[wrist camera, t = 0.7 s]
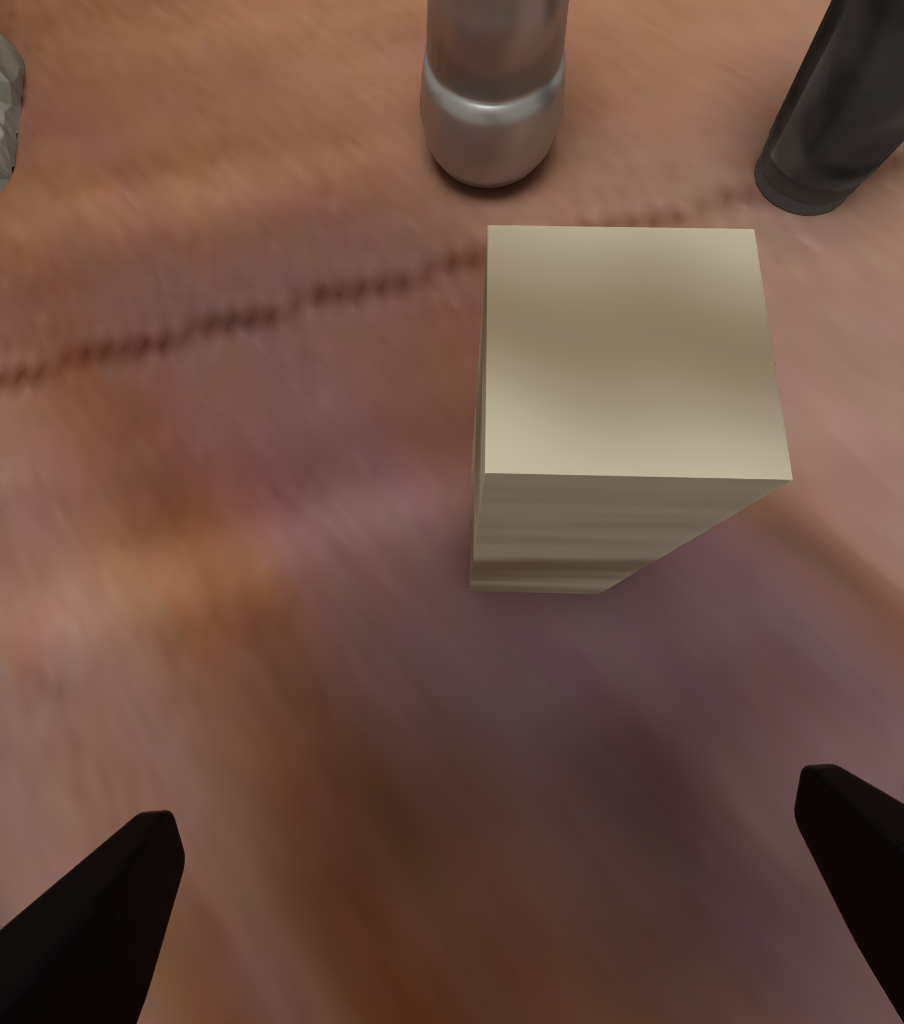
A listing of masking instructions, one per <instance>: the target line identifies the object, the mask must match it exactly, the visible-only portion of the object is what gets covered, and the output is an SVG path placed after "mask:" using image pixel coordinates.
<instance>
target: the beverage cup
mask: <svg viewBox="0 0 904 1024" xmlns="http://www.w3.org/2000/svg"><path fill="white" fill-rule="evenodd" d="M903 141H904V0H832V1H831V3H830V5H829V7H828V9H827V11H826V13H825V15H824V18H823V20H822V22H821V24H820V26H819V28H818V30H817V32H816V35H815V37H814V39H813V41H812V43H811V45H810V47H809V49H808V51H807V54H806V56H805V58H804V60H803V62H802V64H801V66H800V68H799V70H798V73H797V75H796V77H795V79H794V81H793V83H792V85H791V87H790V90H789V92H788V94H787V96H786V98H785V100H784V102H783V104H782V106H781V109H780V111H779V113H778V115H777V117H776V119H775V121H774V123H773V126H772V128H771V130H770V133H769V137H768V139H767V142H766V144H765V146H764V149H763V152H762V154H761V156H760V158H759V159H758V161H757V164H756V168H755V178H756V183H757V185H758V187H759V189H760V190H761V192H762V194H763V195H764V196H765V197H766V198H767V199H768V200H769V201H771V202H772V203H773V204H774V205H776V206H778V207H780V208H782V209H784V210H785V211H787V212H791V213H796V214H800V215H820V214H823V213H826V212H830V211H832V210H833V209H835V208H836V207H838V206H839V205H841V204H842V203H843V201H844V200H845V199H846V198H847V196H848V195H849V194H850V193H852V192H853V191H854V190H855V189H856V188H857V187H858V186H859V185H860V184H861V183H862V182H863V181H865V180H866V179H868V178H869V177H870V176H871V175H872V174H873V173H874V172H875V170H876V169H877V168H878V167H879V166H880V165H881V164H882V163H883V162H884V161H885V160H886V159H887V158H888V157H889V156H890V155H891V154H892V153H893V152H894V151H895V150H896V149H897V148H898V146H899V145H900V144H901V143H902V142H903Z"/></svg>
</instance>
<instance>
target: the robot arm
mask: <svg viewBox="0 0 904 1024" xmlns="http://www.w3.org/2000/svg"><path fill="white" fill-rule="evenodd" d="M794 812H795V819H796V823H797V826H798V828H799V830H800V832H801V834H802V836H803V838H804V840H805V842H806V844H807V846H808V848H809V850H810V852H811V854H812V856H813V858H814V860H815V862H816V865H817V867H818V869H819V871H820V873H821V875H822V877H823V879H824V881H825V883H826V885H827V887H828V889H829V891H830V893H831V895H832V897H833V899H834V901H835V903H836V905H837V907H838V909H839V911H840V913H841V915H842V917H843V919H844V921H845V923H846V925H847V927H848V929H849V931H850V933H851V934H852V936H853V938H854V940H855V942H856V944H857V946H858V948H859V949H860V951H861V953H862V954H863V956H864V958H865V960H866V961H867V963H868V965H869V967H870V968H871V970H872V972H873V973H874V975H875V976H876V978H877V980H878V981H879V983H880V985H881V986H882V988H883V990H884V991H885V993H886V995H887V996H888V998H889V1000H890V1001H891V1003H892V1005H893V1006H894V1008H895V1010H896V1011H897V1013H898V1014H899V1016H900V1018H901V1019H902V1021H903V1023H904V804H903V803H902V802H900V801H898V800H897V799H895V798H893V797H891V796H890V795H888V794H886V793H884V792H883V791H881V790H879V789H878V788H876V787H874V786H872V785H871V784H869V783H867V782H865V781H864V780H862V779H860V778H859V777H857V776H855V775H853V774H852V773H850V772H848V771H846V770H845V769H843V768H841V767H839V766H837V765H834V764H820V765H808V766H805V767H804V768H803V769H802V771H801V774H800V779H799V785H798V791H797V796H796V802H795V808H794ZM184 864H185V854H184V849H183V845H182V842H181V838H180V835H179V831H178V828H177V824H176V821H175V818H174V815H173V814H172V813H171V812H170V811H167V810H162V811H148V812H142V813H140V814H138V815H136V816H135V817H134V818H132V819H131V820H130V821H129V822H128V823H126V824H125V825H124V826H123V827H122V828H120V829H119V830H118V831H117V832H116V833H114V834H113V835H112V836H111V837H110V838H109V839H107V840H106V841H105V842H104V843H103V844H101V845H100V846H99V847H98V848H97V849H95V850H94V851H93V852H92V853H91V854H90V855H88V856H87V857H86V858H85V859H84V860H82V861H81V862H80V863H79V864H78V865H76V866H75V867H74V868H73V869H72V870H71V871H69V872H68V873H67V874H66V875H65V876H63V877H62V878H61V879H60V880H59V881H57V882H56V883H55V884H54V885H53V886H52V887H50V888H49V889H48V890H47V891H46V892H44V893H43V894H42V895H41V896H40V897H38V898H37V899H36V900H35V901H34V902H33V903H31V904H30V905H29V906H28V907H27V908H25V909H24V910H23V911H22V912H21V913H19V914H18V915H17V916H16V917H15V918H14V919H12V920H11V921H10V922H9V923H8V924H6V925H5V926H4V927H3V928H2V929H0V1024H137V1021H138V1018H139V1016H140V1013H141V1010H142V1007H143V1005H144V1002H145V999H146V996H147V993H148V990H149V987H150V983H151V980H152V977H153V974H154V970H155V967H156V963H157V960H158V957H159V953H160V950H161V946H162V943H163V939H164V936H165V932H166V929H167V926H168V922H169V919H170V915H171V912H172V908H173V905H174V901H175V898H176V895H177V891H178V888H179V884H180V881H181V877H182V874H183V870H184Z"/></svg>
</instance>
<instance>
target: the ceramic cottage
mask: <svg viewBox="0 0 904 1024" xmlns="http://www.w3.org/2000/svg"><path fill="white" fill-rule="evenodd" d="M24 71H25V67H24V63H23V60H22V59H21V57H20V56H19V54H18V53H17V51H16V49H15V47H14V46H12V45H11V44H10V43H9V42H8V41H7V40H6V39H5V38H4V37H3V36H2V35H1V34H0V194H1V193H2V191H3V190H4V188H5V186H6V185H7V183H8V181H9V179H10V178H11V176H12V167H14V166H15V154H16V147H17V138H16V133H18V121H19V119H20V115H21V110H22V105H21V97H22V92H23V78H24Z"/></svg>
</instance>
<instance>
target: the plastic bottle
mask: <svg viewBox="0 0 904 1024" xmlns="http://www.w3.org/2000/svg"><path fill="white" fill-rule="evenodd" d="M568 3H569V0H428V2H427V38H426V49H425V55H424V62H423V69H422V77H421V93H420V113H421V119H422V123H423V128H424V132H425V136H426V141H427V144H428V147H429V150H430V152H431V154H432V155H433V157H434V158H435V160H436V161H437V162H438V163H439V164H440V166H441V167H442V168H443V169H444V170H445V171H446V172H447V173H448V174H449V175H450V176H451V177H453V178H455V179H456V180H458V181H459V182H462V183H464V184H467V185H470V186H474V187H478V188H496V187H502V186H506V185H510V184H512V183H514V182H516V181H519V180H520V179H522V178H523V177H525V176H526V175H528V174H529V173H530V172H531V171H532V170H533V169H534V168H535V167H536V166H537V165H538V164H539V163H540V162H541V161H542V160H543V159H544V158H545V156H546V154H547V153H548V151H549V150H550V147H551V144H552V142H553V139H554V136H555V133H556V131H557V128H558V125H559V122H560V119H561V116H562V113H563V100H564V84H565V51H564V44H565V34H566V24H567V14H568Z"/></svg>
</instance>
